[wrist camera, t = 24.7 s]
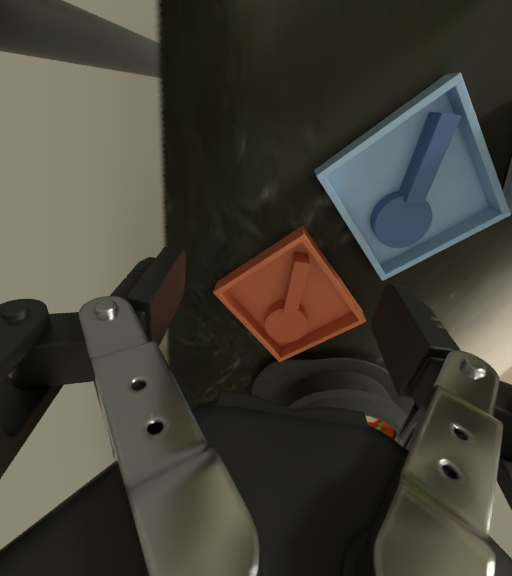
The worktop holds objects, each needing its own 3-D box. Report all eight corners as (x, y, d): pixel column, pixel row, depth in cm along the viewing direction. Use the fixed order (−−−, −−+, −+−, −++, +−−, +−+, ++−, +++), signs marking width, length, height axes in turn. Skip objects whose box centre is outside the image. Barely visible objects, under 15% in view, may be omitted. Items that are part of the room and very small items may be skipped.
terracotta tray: (216, 281, 36) (212, 292, 34) (302, 224, 32) (304, 234, 29) (279, 349, 41) (279, 362, 39) (361, 309, 37) (366, 321, 34)
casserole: (239, 408, 49) (231, 460, 42) (274, 325, 39) (272, 375, 32) (379, 444, 51) (395, 500, 44) (447, 374, 41) (481, 431, 34)
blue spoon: (407, 108, 25) (418, 109, 23) (469, 117, 25) (485, 119, 23) (362, 236, 31) (368, 246, 29) (412, 244, 31) (420, 254, 29)
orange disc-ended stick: (277, 249, 33) (277, 258, 31) (324, 256, 33) (327, 266, 31) (262, 329, 39) (261, 342, 37) (302, 335, 39) (303, 348, 37)
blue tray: (313, 170, 29) (316, 175, 26) (445, 74, 24) (460, 72, 22) (376, 269, 34) (382, 281, 32) (495, 206, 29) (511, 215, 27)
